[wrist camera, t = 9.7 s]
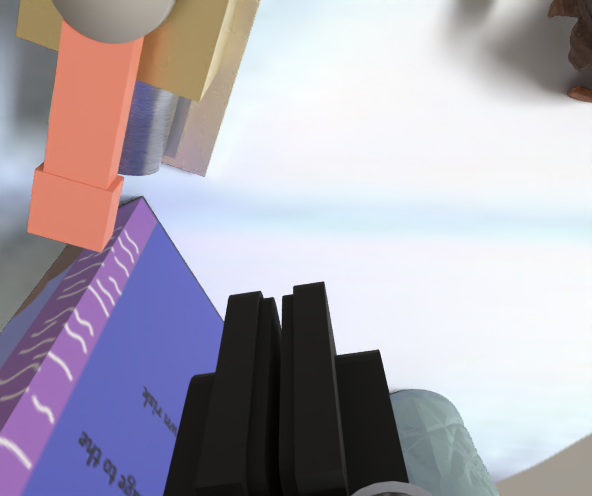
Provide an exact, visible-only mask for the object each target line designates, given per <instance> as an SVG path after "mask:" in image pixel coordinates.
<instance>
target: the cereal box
mask: <svg viewBox="0 0 592 496" xmlns="http://www.w3.org/2000/svg"><path fill="white" fill-rule="evenodd" d="M223 326H224V321H223V319H222V318H221V316H220V315H219V313H218V312H217V310H216V309H215V307H214V306H213V304H212V302H211V301H210V299H209V298H208V296H207V295H206V293H205V292H204V290H203V288H202V287H201V285H200V284H199V282H198V281H197V279H196V278H195V276H194V274H193V273H192V271H191V270H190V268H189V267H188V265H187V264H186V262H185V260H184V259H183V257H182V256H181V254H180V253H179V251H178V250H177V248H176V247H175V245H174V243H173V242H172V240H171V239H170V237H169V236H168V234H167V233H166V231H165V229H164V228H163V226H162V225H161V223H160V222H159V220H158V219H157V217H156V215H155V214H154V212H153V211H152V209H151V208H150V206H149V205H148V203H147V201H146V200H145V198H144V197H143V196H142V197H140V198H137V199H135V200H133V201H131V202H129V203H127V204H124V205H122V206H120V207H118V210H117V215H116V220H115V225H114V230H113V235H112V236H111V238H110V239H109V241H108V243H107V244H106V246H105V247H104V249H103V251H102V252H97V251H93V250H90V249H86V248H82V247H79V246H75V245H71V244H68V245H67V246H66V248H65V249H64V250H63V252H62V253H61V254H60V256H59V257H58V258H57V259H56V261H55V262H54V263H53V265H52V266H51V267H50V269H49V270H48V271H47V273H46V274H45V275H44V277H43V278H42V279H41V281H40V282H39V283H38V285H37V286H36V287H35V288H34V290H33V291H32V292H31V294H30V295H29V296H28V298H27V299H26V300H25V302H24V303H23V304H22V306H21V307H20V308H19V310H18V311H17V312H16V313H15V315H14V316H13V317H12V319H11V320H10V321H9V323H8V324H7V325H6V327H5V328H4V329H3V331H2V332H1V333H0V496H163V493H164V489H165V484H166V480H167V476H168V472H169V467H170V463H171V459H172V455H173V450H174V446H175V442H176V438H177V433H178V429H179V425H180V420H181V416H182V412H183V408H184V403H185V399H186V395H187V391H188V386H189V383H190V380H191V378H192V377H193V376H194V375H198V374H205V373H212V372H215V371H216V366H217V360H218V354H219V349H220V343H221V338H222V332H223Z"/></svg>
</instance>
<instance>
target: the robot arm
mask: <svg viewBox="0 0 592 496" xmlns="http://www.w3.org/2000/svg"><path fill="white" fill-rule="evenodd" d="M163 496H434V495H432V494H431V493H430V492H429V491H427V490H424V489H422V488H420V487H418V486H415V485H413V484H409V479H408V475H407V470H406V466H405V461H404V457H403V453H402V448H401V444H400V439H399V435H398V430H397V426H396V421H395V417H394V412H393V408H392V403H391V399H390V394H389V390H388V385H387V381H386V377H385V372H384V368H383V363H382V359H381V355H380V351H379V350H372V351H365V352H358V353H350V354H343V355H337V354H336V348H335V342H334V336H333V330H332V324H331V318H330V312H329V307H328V301H327V295H326V289H325V284H324V282H317V283H310V284H303V285H296V286H293V294H291V295H285V296H283V297H282V330H281V325H280V321H279V316H278V312H277V307H276V303H275V299H274V298H273V297H271V298H263V295H262V292H261V291H256V292H249V293H242V294H235V295H230V296H229V299H228V304H227V310H226V315H225V321H224V326H223V332H222V338H221V343H220V349H219V354H218V360H217V366H216V371H215V372H212V373H205V374H198V375H194V376H193V377H192V378H191V380H190V383H189V386H188V391H187V395H186V399H185V403H184V408H183V412H182V416H181V420H180V425H179V429H178V433H177V438H176V442H175V446H174V450H173V455H172V459H171V463H170V467H169V472H168V476H167V480H166V484H165V489H164V493H163Z"/></svg>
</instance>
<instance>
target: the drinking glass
mask: <svg viewBox="0 0 592 496" xmlns="http://www.w3.org/2000/svg"><path fill="white" fill-rule="evenodd" d="M390 399H391V403H392V408H393V412H394V417H395V421H396V426H397V430H398V435H399V439H400V444H401V448H402V453H403V457H404V461H405V466H406V470H407V475H408V479H409V484H413V485H415V486H418V487H420V488H422V489H424V490H427V491H429V492H430V493H431V494H432V495H434V496H500V495H499V493H498V490H497V488H496V486H495V484H494V483H493V482H492V481H491V479H492V478H491V476H490V474H489V472H487V469H486V467H485V466H484V464H483V461H482V459H481V458H480V456H479V455H478V454H477V450H476V448H475V446H474V444H473V441H472V438H471V437H470V435H469V432H468V431H467V429H466V427H464V423H463V420H462V418H461V416H460V414H459V412H458V411H457V409H456V408H455V406H454V405H453V404H452V403H451V402H450V401H449V400H448V399H447V398H445V397H443V396H442V395H440V394H437V393H434V392H431V391H426V390H403V391H400V392H397V393H393V394H390Z"/></svg>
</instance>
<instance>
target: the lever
mask: <svg viewBox="0 0 592 496" xmlns="http://www.w3.org/2000/svg"><path fill="white" fill-rule="evenodd" d="M51 1H52V2H53V4H54V6H55V8H56V9H57V10H58V12H59V13H60V14H61V16H62V17H63V21H62V29H61V37H60V45H59V52H58V60H57V68H56V75H55V83H54V91H53V98H52V106H51V114H50V121H49V129H48V137H47V144H46V152H45V160H44V162H43V163H42V164H41V165H40V166H38V167H37V168H36V169H35V171H34V179H33V187H32V195H31V203H30V211H29V220H28V228H27V232H28V233H31V234H35V235H39V236H42V237H46V238H50V239H53V240H57V241H60V242H64V243H68V244H71V245H75V246H79V247H82V248H86V249H90V250H93V251H97V252H102V251H103V249H104V247H105V246H106V244H107V243H108V241H109V239H110V238H111V236H112V235H113V230H114V225H115V220H116V215H117V210H118V205H119V200H120V195H121V191H122V186H123V181H124V177H122V176H118V175H117V173H118V168H119V163H120V157H121V152H122V147H123V142H124V137H125V132H126V127H127V122H128V117H129V112H130V106H131V101H132V96H133V91H134V86H135V81H136V76H137V71H138V66H139V60H140V55H141V50H142V45H143V40H144V36H145V35H146V34H148V33H150V32H152V31H153V30H155V29H156V28H158V27H159V26H160V25H161V24H162V23H163V22H164V21H165V20H166V19H167V18H168V16H169V15H170V13H171V12H172V10H173V7H174V5H175V3H176V0H51Z"/></svg>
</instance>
